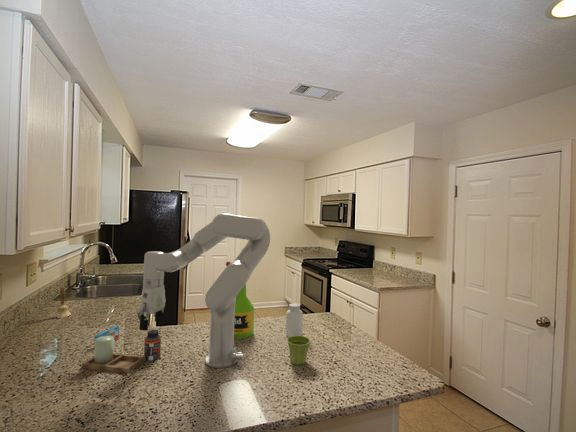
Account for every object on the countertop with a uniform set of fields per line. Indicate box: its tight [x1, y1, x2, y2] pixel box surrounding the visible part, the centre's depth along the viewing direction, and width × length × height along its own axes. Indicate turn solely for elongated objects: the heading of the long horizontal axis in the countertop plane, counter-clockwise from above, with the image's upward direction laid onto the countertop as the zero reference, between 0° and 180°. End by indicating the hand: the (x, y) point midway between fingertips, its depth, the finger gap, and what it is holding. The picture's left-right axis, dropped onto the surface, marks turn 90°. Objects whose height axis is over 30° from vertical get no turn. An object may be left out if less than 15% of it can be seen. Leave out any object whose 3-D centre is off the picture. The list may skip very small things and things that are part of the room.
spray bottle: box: [225, 261, 255, 339], centre depth 154 cm, size 14×18×35 cm
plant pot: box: [286, 335, 311, 366], centre depth 124 cm, size 9×9×9 cm
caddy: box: [81, 352, 146, 374], centre depth 118 cm, size 19×10×2 cm, turn 80°
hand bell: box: [54, 287, 72, 317], centre depth 174 cm, size 8×8×16 cm
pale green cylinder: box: [93, 336, 115, 365], centre depth 118 cm, size 6×6×9 cm
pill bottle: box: [285, 303, 304, 338], centre depth 152 cm, size 8×8×15 cm
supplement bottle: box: [143, 329, 162, 362], centre depth 124 cm, size 6×6×11 cm
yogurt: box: [94, 325, 120, 341], centre depth 137 cm, size 12×2×6 cm, turn 167°
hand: (151, 325), depth 124 cm, fingers open, 9 cm apart
